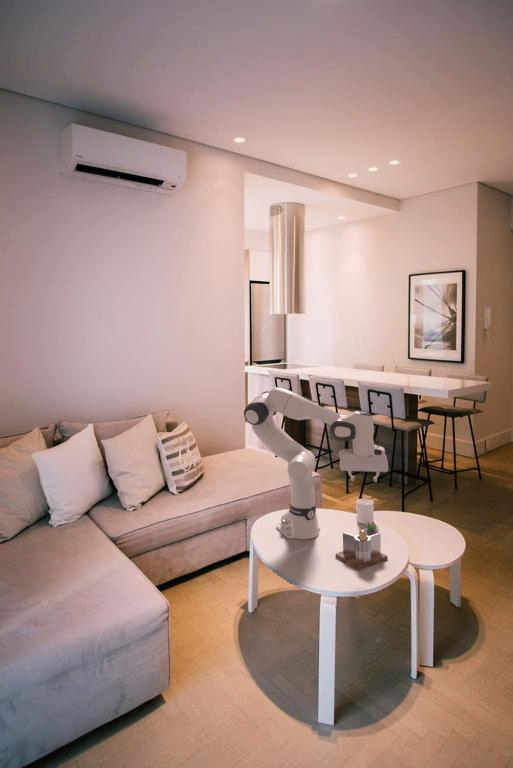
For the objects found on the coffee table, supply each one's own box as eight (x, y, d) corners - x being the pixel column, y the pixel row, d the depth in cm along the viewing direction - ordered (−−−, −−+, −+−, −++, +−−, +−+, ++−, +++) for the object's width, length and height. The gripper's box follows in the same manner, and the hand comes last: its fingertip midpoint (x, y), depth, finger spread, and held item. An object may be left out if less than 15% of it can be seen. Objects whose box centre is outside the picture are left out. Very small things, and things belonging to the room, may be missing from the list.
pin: (357, 558, 192) (357, 530, 191) (363, 556, 193) (362, 528, 192) (362, 561, 189) (362, 532, 188) (368, 559, 191) (368, 531, 190)
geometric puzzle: (383, 536, 210) (378, 519, 214) (369, 538, 208) (364, 521, 212) (377, 540, 216) (371, 523, 220) (363, 542, 214) (358, 525, 218)
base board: (335, 557, 197) (335, 553, 197) (363, 547, 205) (363, 543, 205) (359, 570, 185) (359, 566, 185) (387, 559, 193) (387, 555, 193)
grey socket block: (340, 552, 198) (340, 531, 197) (363, 544, 205) (362, 524, 204) (362, 564, 187) (362, 542, 186) (385, 555, 194) (385, 534, 193)
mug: (349, 517, 240) (349, 497, 239) (363, 514, 242) (363, 495, 241) (362, 525, 228) (362, 505, 227) (377, 523, 231) (376, 503, 230)
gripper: (338, 450, 197) (338, 482, 198) (388, 451, 192) (388, 484, 193) (338, 447, 203) (339, 478, 204) (387, 447, 198) (387, 479, 199)
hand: (363, 481), depth 199 cm, fingers open, 8 cm apart
